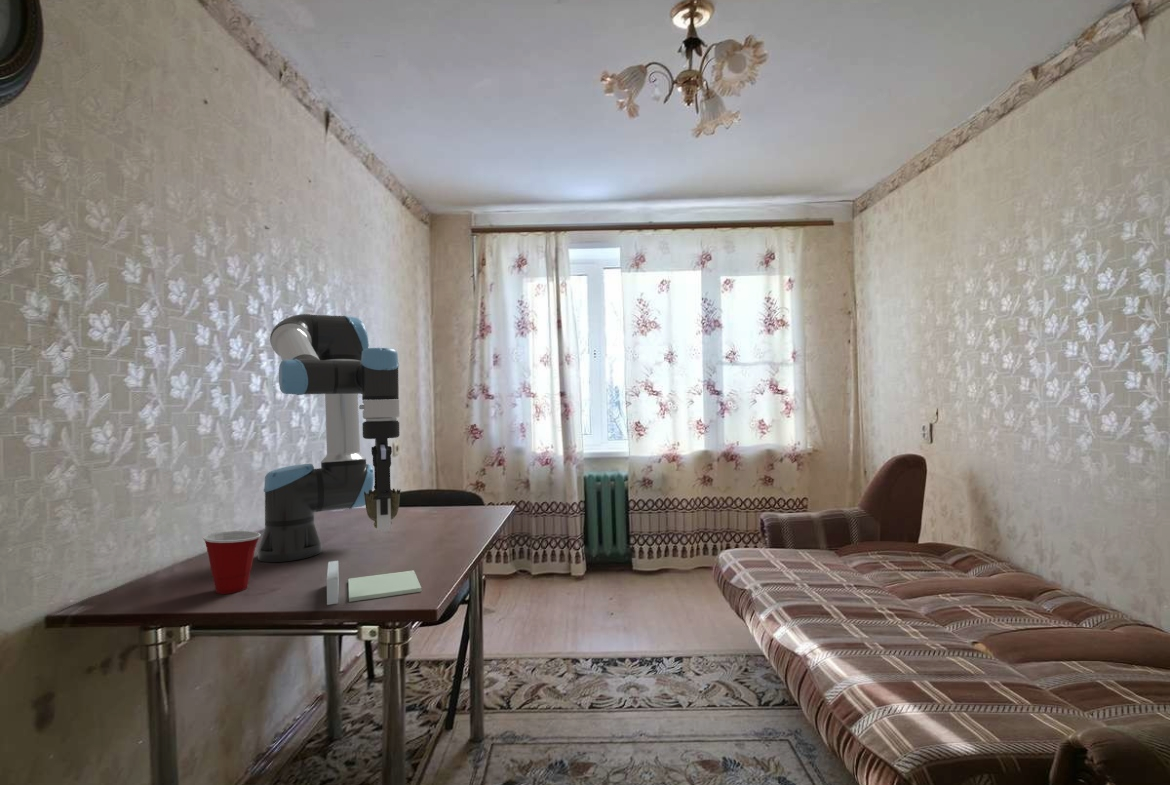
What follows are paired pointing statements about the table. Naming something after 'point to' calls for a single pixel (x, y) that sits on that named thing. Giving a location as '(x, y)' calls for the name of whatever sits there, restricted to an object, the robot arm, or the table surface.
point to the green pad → (383, 585)
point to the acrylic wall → (332, 583)
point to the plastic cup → (231, 559)
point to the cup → (372, 504)
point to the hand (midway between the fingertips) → (382, 526)
